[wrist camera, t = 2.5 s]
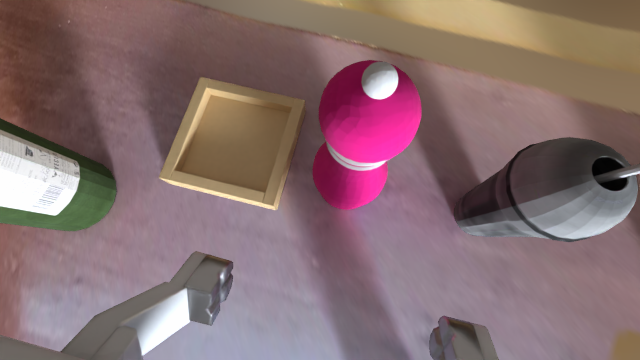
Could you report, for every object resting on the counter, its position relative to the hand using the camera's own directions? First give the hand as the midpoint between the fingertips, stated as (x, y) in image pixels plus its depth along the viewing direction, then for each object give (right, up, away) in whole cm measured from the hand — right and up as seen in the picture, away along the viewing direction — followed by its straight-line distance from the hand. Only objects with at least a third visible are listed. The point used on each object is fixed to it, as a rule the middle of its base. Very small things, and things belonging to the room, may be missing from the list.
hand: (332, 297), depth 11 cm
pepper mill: (+2, +4, +22) cm, 22 cm away
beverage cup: (+16, +1, +21) cm, 26 cm away
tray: (-10, +8, +23) cm, 26 cm away
